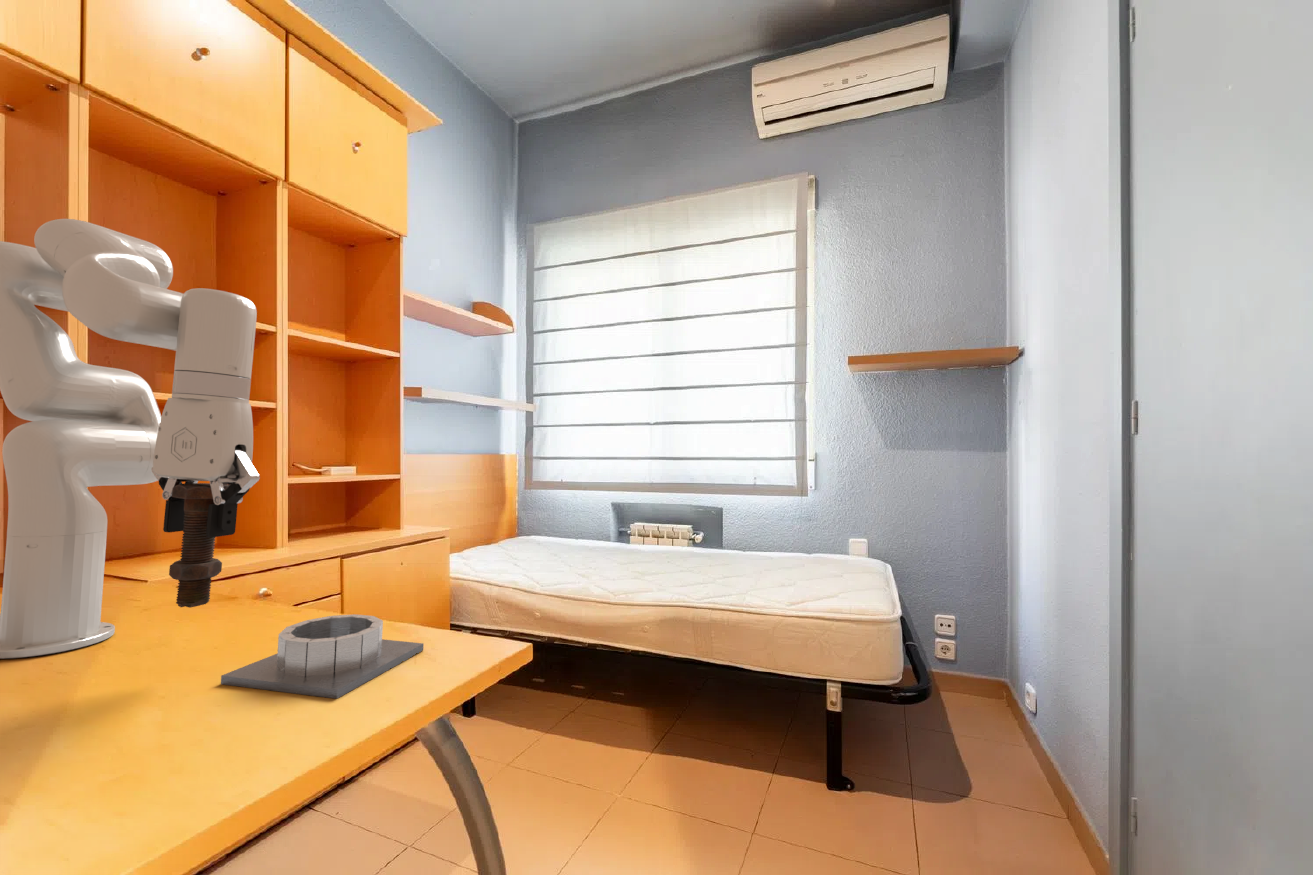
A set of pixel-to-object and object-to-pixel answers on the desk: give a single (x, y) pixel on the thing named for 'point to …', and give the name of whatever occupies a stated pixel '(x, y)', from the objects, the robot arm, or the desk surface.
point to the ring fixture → (325, 657)
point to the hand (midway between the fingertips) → (199, 531)
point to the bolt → (195, 547)
